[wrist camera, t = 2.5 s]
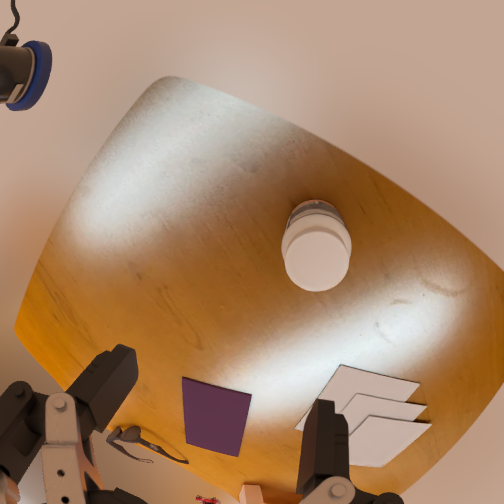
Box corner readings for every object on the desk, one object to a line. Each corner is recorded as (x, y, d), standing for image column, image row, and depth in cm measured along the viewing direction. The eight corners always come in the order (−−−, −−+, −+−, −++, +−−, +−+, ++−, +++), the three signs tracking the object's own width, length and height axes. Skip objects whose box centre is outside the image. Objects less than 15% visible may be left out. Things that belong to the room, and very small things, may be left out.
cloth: (182, 376, 42) (181, 378, 41) (251, 394, 40) (251, 396, 40) (186, 441, 50) (186, 443, 50) (238, 455, 49) (237, 457, 48)
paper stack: (277, 449, 45) (277, 451, 44) (340, 364, 35) (340, 368, 35) (381, 464, 44) (381, 467, 43) (460, 390, 34) (461, 393, 33)
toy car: (195, 494, 65) (192, 502, 62) (218, 497, 63) (216, 506, 60) (200, 498, 66) (197, 505, 63) (223, 501, 64) (220, 509, 61)
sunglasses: (143, 422, 50) (135, 440, 46) (195, 456, 56) (190, 473, 51) (105, 424, 56) (98, 439, 52) (152, 456, 61) (147, 470, 57)
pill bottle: (332, 257, 30) (340, 307, 21) (281, 242, 31) (268, 287, 22) (349, 207, 28) (368, 238, 19) (295, 191, 29) (289, 214, 20)
